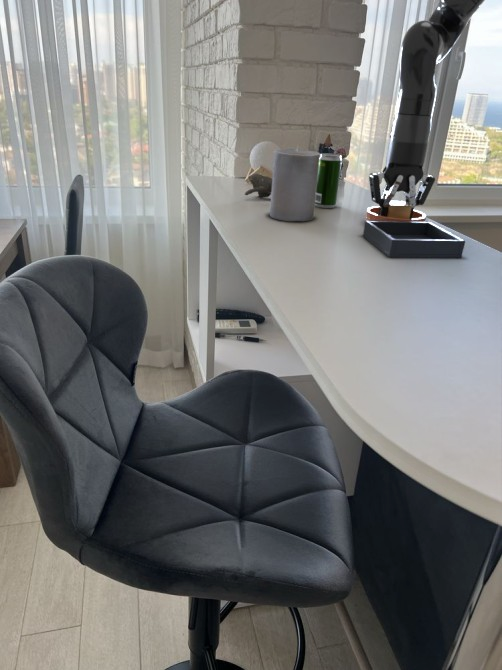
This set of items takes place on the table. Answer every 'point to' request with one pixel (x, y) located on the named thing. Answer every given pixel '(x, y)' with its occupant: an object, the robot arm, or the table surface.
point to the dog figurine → (260, 185)
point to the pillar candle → (294, 184)
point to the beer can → (328, 180)
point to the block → (399, 210)
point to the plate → (373, 216)
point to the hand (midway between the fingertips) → (393, 223)
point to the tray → (413, 239)
